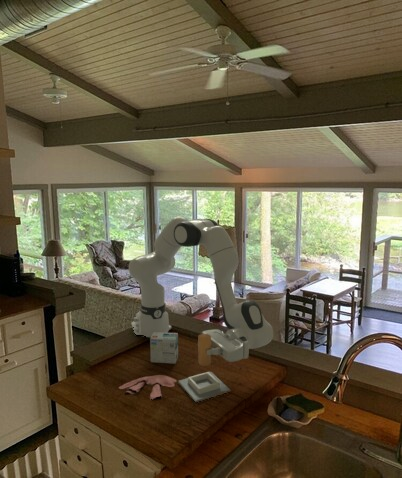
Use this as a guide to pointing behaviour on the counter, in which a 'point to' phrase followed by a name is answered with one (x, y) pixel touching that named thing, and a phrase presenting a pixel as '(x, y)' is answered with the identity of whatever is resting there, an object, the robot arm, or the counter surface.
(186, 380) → the cylinder holder
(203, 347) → the tapered orange cylinder
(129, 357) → the counter surface
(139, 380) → the cloth
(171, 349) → the light bulb box
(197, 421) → the counter surface
